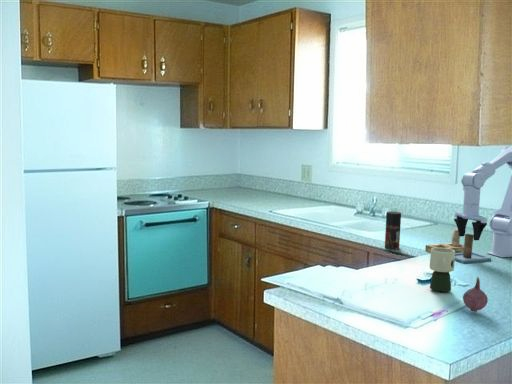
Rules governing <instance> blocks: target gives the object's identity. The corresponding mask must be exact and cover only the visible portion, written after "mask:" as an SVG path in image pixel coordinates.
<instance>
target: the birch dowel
mask: <svg viewBox="0 0 512 384" xmlns="http://www.w3.org/2000/svg"><path fill="white" fill-rule="evenodd" d="M460 239H461V237H460V236H459V232H458V228H456V229H455V228H453V229H452V234H451V243H452V246H453V247H459V244H460V241H461V240H460Z"/></svg>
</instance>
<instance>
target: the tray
mask: <svg viewBox="0 0 512 384" xmlns="http://www.w3.org/2000/svg"><path fill="white" fill-rule="evenodd" d="M491 261H492V257H491V256H488V255H483V254H480V253H477V252H473V251H472V256H471V258H464V257H463V253H455V262H458V263H461V264H468V263H480V262H491Z"/></svg>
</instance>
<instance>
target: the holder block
mask: <svg viewBox="0 0 512 384" xmlns="http://www.w3.org/2000/svg"><path fill="white" fill-rule="evenodd" d="M437 247H439V248H448V249H452V250H455V253H464V244H461V243H459V247H453V246H452V242H449V243H433V244H426V245H425V248H424V249H425V252H427V253H429V254H431V248H437Z"/></svg>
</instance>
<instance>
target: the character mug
mask: <svg viewBox="0 0 512 384" xmlns="http://www.w3.org/2000/svg"><path fill="white" fill-rule="evenodd" d="M455 262H456V261H455V250H452V249H448V248H439V247H437V248H431V253H430V258H429V269H430V270H431V271H433V272H432V274H431V279H430V284H429V289H431V290H432V291H433V290H434V291H438V292H439V293H442V292H445V293H447V292H448V293H449V292H451V291H452V282H451V274H450V272H454V271H455Z"/></svg>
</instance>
